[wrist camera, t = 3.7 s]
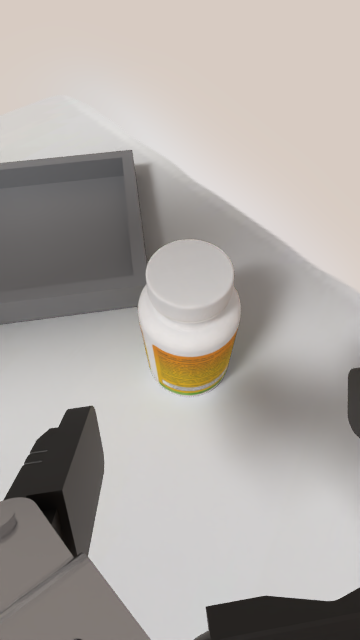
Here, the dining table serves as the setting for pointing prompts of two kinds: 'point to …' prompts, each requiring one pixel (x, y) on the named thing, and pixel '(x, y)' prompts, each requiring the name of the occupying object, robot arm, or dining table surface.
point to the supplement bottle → (189, 316)
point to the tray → (70, 236)
